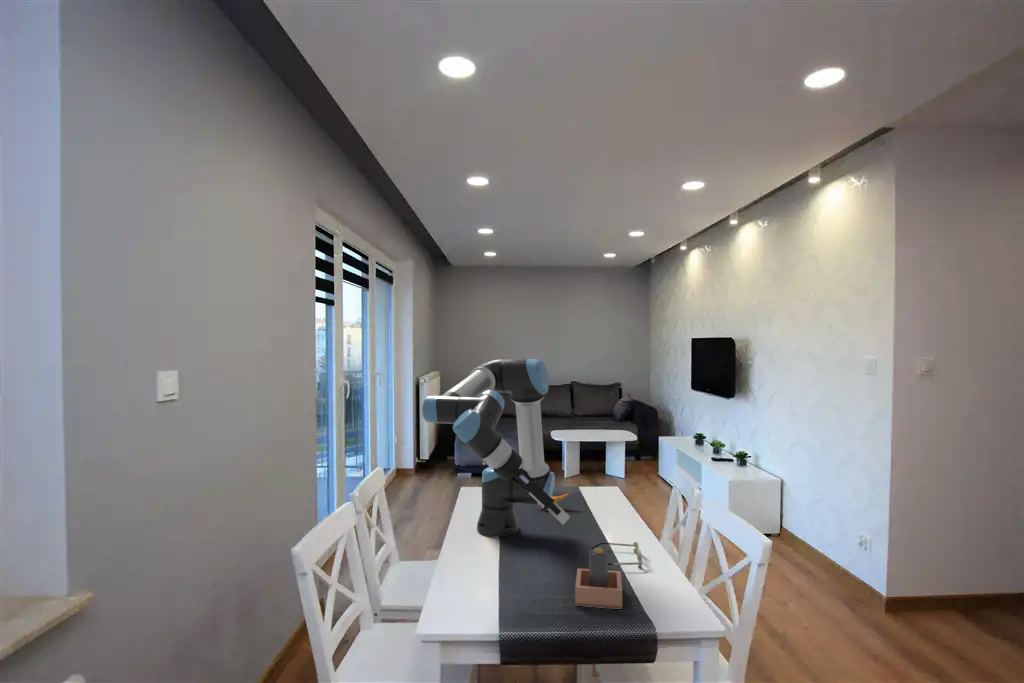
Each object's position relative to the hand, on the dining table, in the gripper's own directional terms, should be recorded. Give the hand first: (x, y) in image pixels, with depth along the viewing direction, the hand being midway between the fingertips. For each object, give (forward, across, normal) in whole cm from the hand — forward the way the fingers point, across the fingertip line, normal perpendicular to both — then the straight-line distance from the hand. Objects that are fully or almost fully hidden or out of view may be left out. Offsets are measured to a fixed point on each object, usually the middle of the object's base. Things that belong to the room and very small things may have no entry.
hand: (556, 512), depth 144 cm
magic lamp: (+35, -75, +2) cm, 83 cm away
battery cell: (+24, +1, -8) cm, 25 cm away
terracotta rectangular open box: (+25, +1, -8) cm, 26 cm away
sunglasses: (+36, -20, +3) cm, 42 cm away
